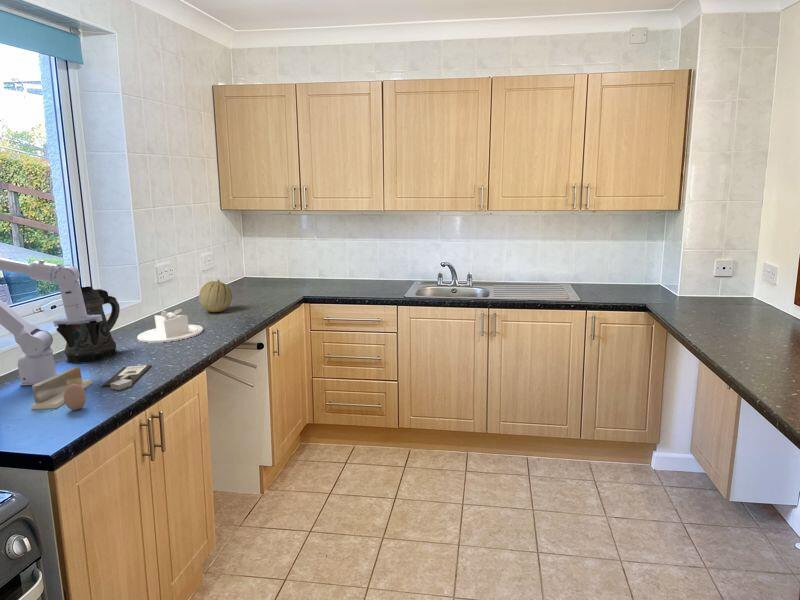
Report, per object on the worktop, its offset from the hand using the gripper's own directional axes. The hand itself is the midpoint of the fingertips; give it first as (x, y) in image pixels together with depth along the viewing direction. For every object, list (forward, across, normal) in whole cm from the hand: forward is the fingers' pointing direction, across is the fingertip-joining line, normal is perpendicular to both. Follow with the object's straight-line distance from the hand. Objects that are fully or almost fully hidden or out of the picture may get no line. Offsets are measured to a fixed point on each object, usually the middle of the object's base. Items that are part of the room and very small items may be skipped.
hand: (84, 345), depth 186 cm
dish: (+12, -7, -48) cm, 50 cm away
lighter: (+10, -14, +14) cm, 22 cm away
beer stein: (+10, +11, -24) cm, 28 cm away
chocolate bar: (+12, -13, +3) cm, 18 cm away
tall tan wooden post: (+9, -1, +19) cm, 21 cm away
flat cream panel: (+10, -1, +18) cm, 21 cm away
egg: (+11, -12, +30) cm, 34 cm away
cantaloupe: (+13, -14, -88) cm, 89 cm away
